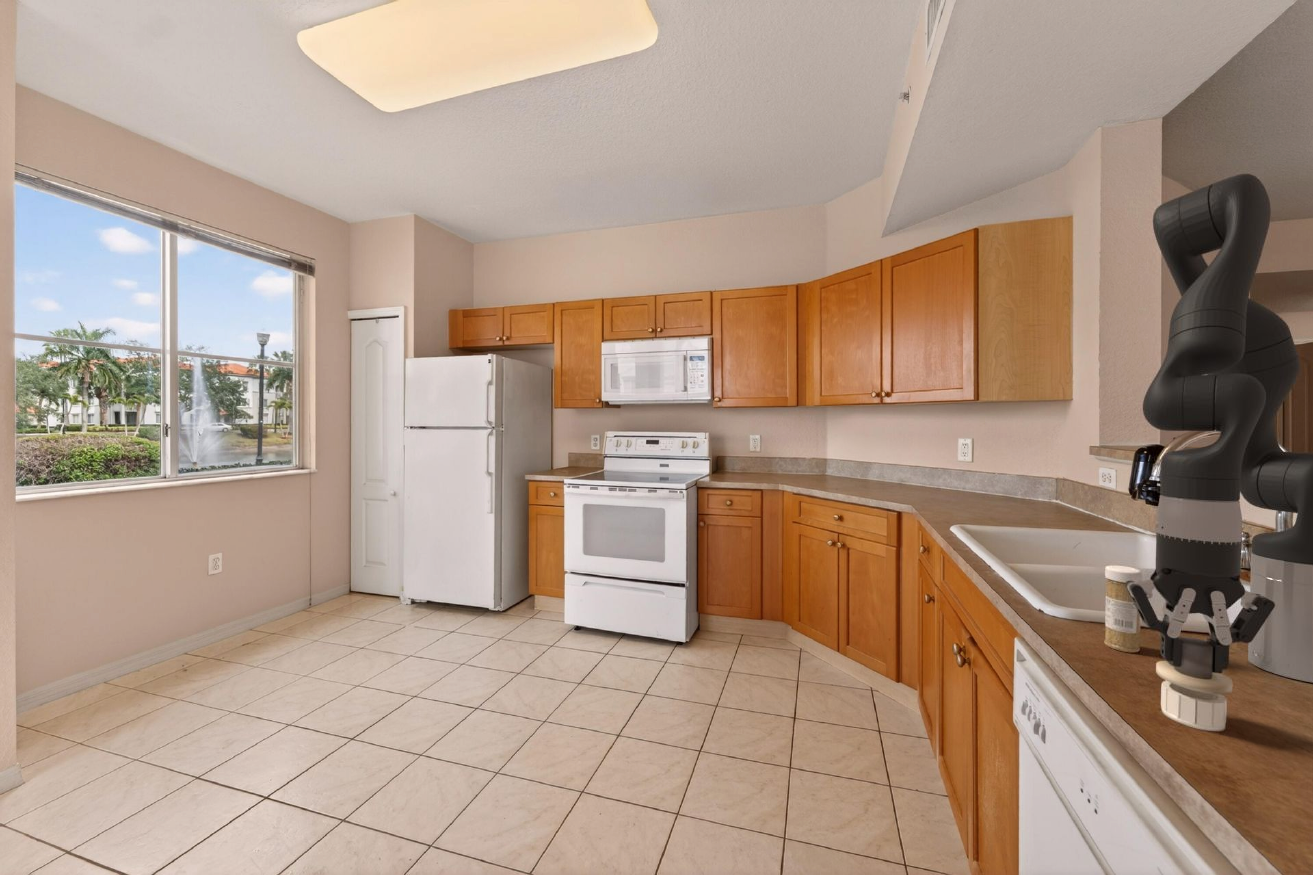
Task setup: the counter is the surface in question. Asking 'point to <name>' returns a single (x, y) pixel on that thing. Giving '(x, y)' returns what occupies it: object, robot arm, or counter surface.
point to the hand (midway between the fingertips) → (1193, 666)
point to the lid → (1195, 669)
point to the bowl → (1193, 707)
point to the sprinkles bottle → (1121, 609)
